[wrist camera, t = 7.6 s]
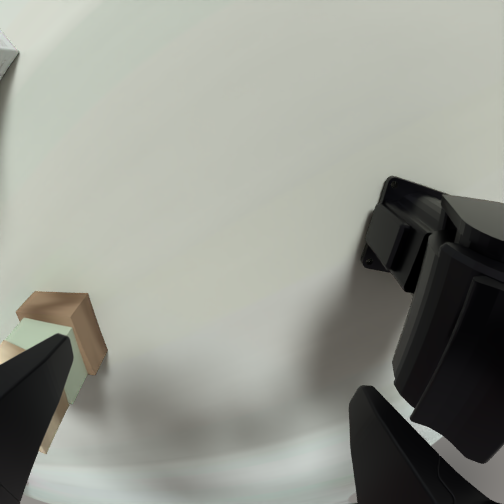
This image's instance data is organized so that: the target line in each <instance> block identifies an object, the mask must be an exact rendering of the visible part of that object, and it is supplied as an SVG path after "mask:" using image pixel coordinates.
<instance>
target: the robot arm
mask: <svg viewBox="0 0 504 504" xmlns="http://www.w3.org/2000/svg"><path fill="white" fill-rule="evenodd" d="M393 181H395V182H396V185H395V186H394V187H392V186H391V183H392V182H393ZM365 240H366V242H367V243H366V246H365V249H364V252H363V254H362V257H361V263H362V264H363V266H364V267H365V268H369V269H374V270H380V271H385V272H390V273H392V274H393V276H394V277H395V279H396V280H397V281H398V283H399V284H400V286H401V287H402V288H403V290H404V291H405V292H409V293H411V294H412V295H413V299H412V303H411V306H410V309H409V312H408V315H407V318H406V322H405V325H404V328H403V330H402V333H401V336H400V339H399V342H398V345H397V348H396V350H395V354H394V357H393V361H392V364H393V371H394V376H395V381H394V385H395V387H396V389H397V390H398V392H399V394H400V395H401V396H402V397H403V398H404V399H405V400H406V401H407V402H408V403H409V404H410V405H411V406H412V407H414V408H415V409H414V411H413V412H412V414H411V416H410V420H411V421H412V422H415V423H418V424H421V425H424V426H427V427H429V428H431V429H433V430H435V431H436V432H438V433H440V434H441V435H443V436H444V437H445V438H446V439H448V440H449V441H450V442H451V443H452V444H453V445H454V446H455V447H456V448H457V449H458V450H459V451H460V452H461V453H462V454H463V455H464V456H465V457H466V458H468V459H470V460H473V461H475V462H478V463H481V464H484V463H486V462H488V461H489V460H490V459H491V458H492V457H493V456H494V455H495V454H496V452H497V451H498V450H499V449H500V448H501V447H502V446H503V445H504V203H500V202H494V201H488V200H481V199H474V198H467V197H460V196H453V195H449V194H446V193H443V192H441V191H438V190H435V189H432V188H429V187H426V186H423V185H420V184H417V183H414V182H411V181H408V180H405V179H402V178H399V177H396V176H390V177H388V178H387V180H386V182H385V186H384V189H383V193H382V196H381V199H380V203H379V204H377V205H376V206H375V210H374V213H373V216H372V219H371V222H370V225H369V229H368V232H367V235H366V238H365ZM369 258H371V260H370V262H366V260H367V259H369ZM73 359H74V355H73V350H72V345H71V341H70V338H69V337H68V336H66V335H63V334H60V333H56V334H54V335H52V336H51V337H49V338H47V339H45V340H43V341H42V342H40V343H38V344H36V345H34V346H33V347H31V348H29V349H27V350H25V351H24V352H22V353H20V354H18V355H16V356H15V357H13V358H11V359H9V360H8V361H6V362H4V363H2V364H0V504H20V501H21V498H22V495H23V492H24V489H25V486H26V483H27V481H28V478H29V475H30V472H31V469H32V467H33V464H34V461H35V459H36V456H37V454H38V451H39V449H40V446H41V444H42V441H43V439H44V436H45V434H46V431H47V429H48V427H49V424H50V422H51V420H52V417H53V415H54V413H55V411H56V408H57V406H58V404H59V401H60V399H61V396H62V393H63V390H64V387H65V384H66V381H67V378H68V375H69V372H70V369H71V366H72V363H73ZM349 423H350V448H351V456H352V463H353V470H354V478H355V485H356V493H357V502H358V504H500V503H496V502H494V501H492V500H490V499H489V498H487V497H486V496H485V495H484V494H482V493H481V492H480V491H478V490H477V489H476V488H475V487H474V486H472V485H471V484H470V483H469V482H468V481H466V480H465V479H464V478H463V477H462V476H461V475H460V474H458V473H457V472H456V471H455V470H454V469H453V468H452V467H451V466H450V465H449V464H448V463H447V462H446V461H445V460H444V459H443V458H442V457H441V456H439V454H438V453H437V452H436V451H435V450H434V449H433V448H432V447H431V446H430V445H429V444H428V443H427V442H426V441H425V439H424V438H423V437H422V436H421V435H420V434H419V433H418V432H417V431H416V430H415V429H414V428H413V427H412V426H411V425H410V424H409V423H408V422H407V421H406V420H405V419H404V418H403V417H402V416H401V415H400V414H399V413H398V412H397V411H396V410H395V408H394V407H393V406H392V405H391V404H390V403H389V402H388V401H387V400H386V399H385V398H384V397H383V396H382V395H381V394H380V393H379V392H378V391H377V390H376V389H375V388H374V387H373V386H366V385H362V386H360V387H359V388H358V389H357V391H356V393H355V394H354V396H353V398H352V399H351V401H350V403H349Z"/></svg>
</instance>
